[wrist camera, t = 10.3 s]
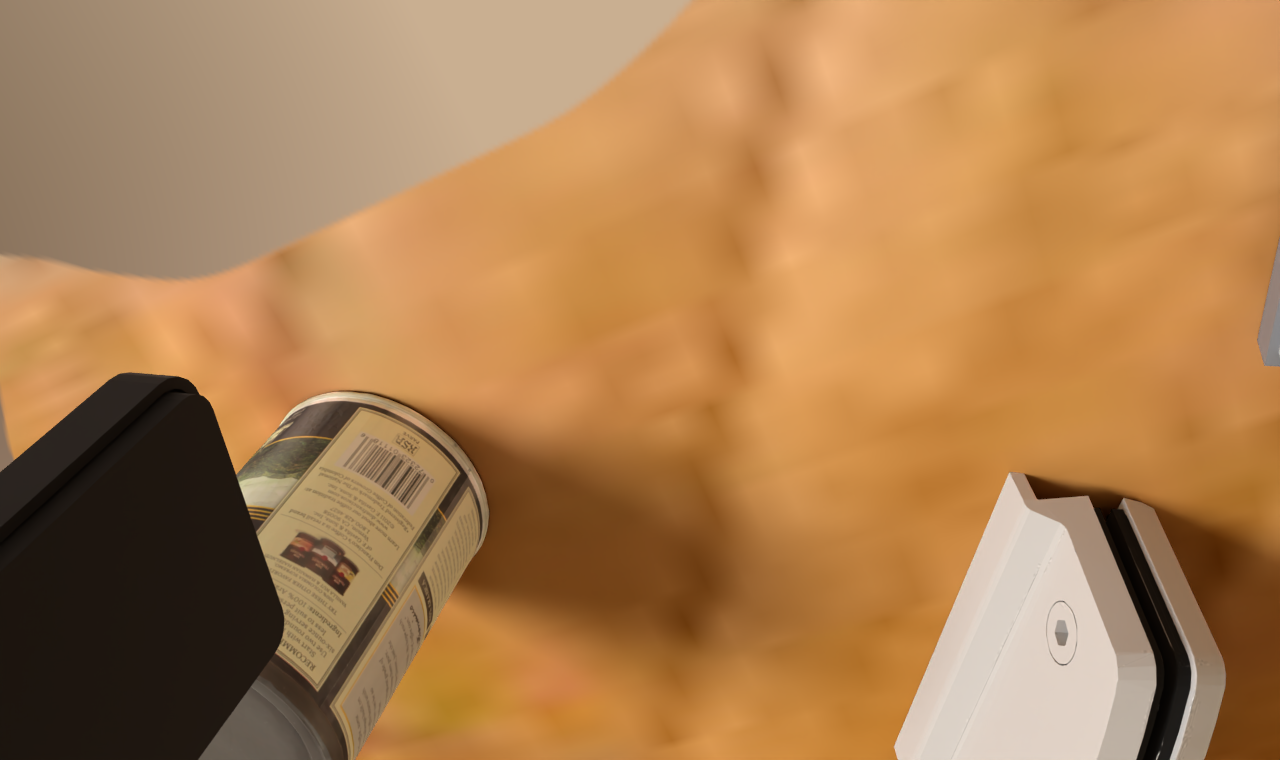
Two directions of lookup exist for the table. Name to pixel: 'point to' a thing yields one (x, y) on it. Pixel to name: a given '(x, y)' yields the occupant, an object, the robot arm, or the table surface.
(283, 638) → the coffee can
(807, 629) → the table surface
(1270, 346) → the gauge board
